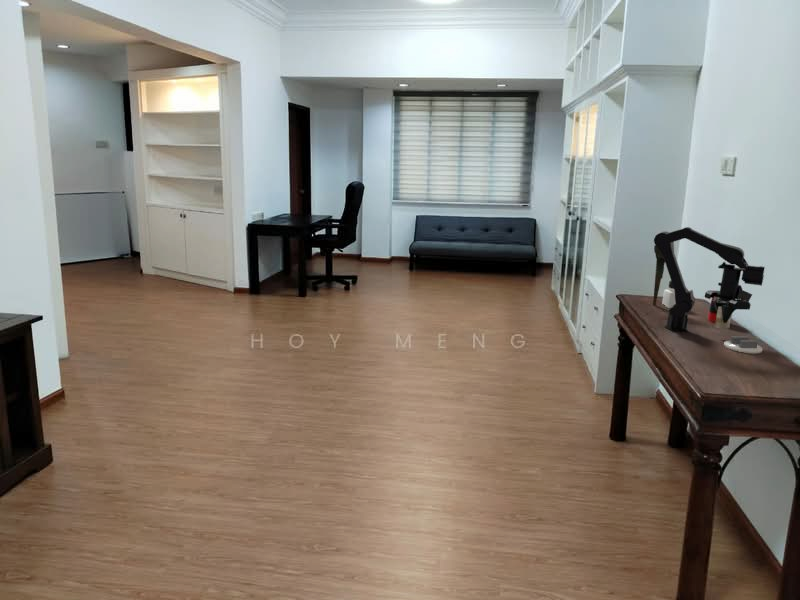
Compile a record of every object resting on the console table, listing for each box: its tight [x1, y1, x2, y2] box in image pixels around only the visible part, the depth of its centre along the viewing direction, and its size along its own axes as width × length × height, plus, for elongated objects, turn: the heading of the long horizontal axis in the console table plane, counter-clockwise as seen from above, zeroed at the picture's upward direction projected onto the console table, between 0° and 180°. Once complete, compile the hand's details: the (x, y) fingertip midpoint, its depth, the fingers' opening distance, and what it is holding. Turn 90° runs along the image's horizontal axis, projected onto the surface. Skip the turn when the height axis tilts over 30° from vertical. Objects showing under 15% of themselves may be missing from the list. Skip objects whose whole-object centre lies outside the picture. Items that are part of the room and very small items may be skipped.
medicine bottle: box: [661, 280, 676, 309], centre depth 272 cm, size 7×7×12 cm
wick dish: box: [723, 335, 763, 354], centre depth 215 cm, size 12×12×4 cm
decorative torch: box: [652, 244, 666, 306], centre depth 270 cm, size 7×7×30 cm
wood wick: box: [714, 306, 733, 329], centre depth 226 cm, size 4×2×8 cm, turn 97°
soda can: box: [707, 298, 717, 323], centre depth 249 cm, size 8×8×12 cm
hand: (722, 321), depth 226 cm, fingers closed on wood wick, 2 cm apart
